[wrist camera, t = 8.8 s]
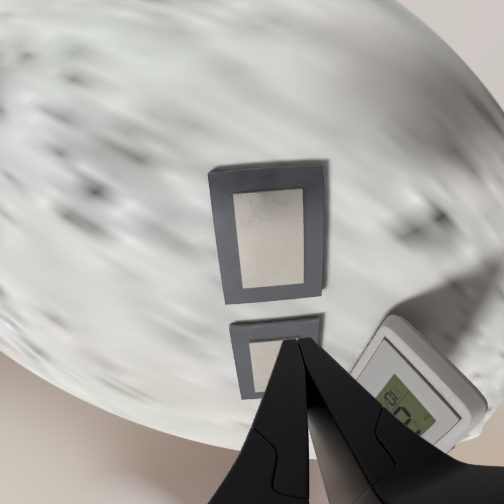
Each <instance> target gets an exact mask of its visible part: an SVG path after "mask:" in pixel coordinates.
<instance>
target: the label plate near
mask: <svg viewBox="0 0 504 504" xmlns="http://www.w3.org/2000/svg"><path fill="white" fill-rule="evenodd" d="M208 181H209V189H210V197H211V205H212V213H213V221H214V229H215V236H216V244H217V251H218V258H219V265H220V272H221V279H222V286H223V292H224V299H225V305H227V304H241V303H254V302H266V301H277V300H288V299H298V298H307V297H317V296H321V294H322V273H323V240H324V178H323V165H321V164H313V165H290V166H273V167H258V168H246V169H234V170H224V171H215V172H209V173H208Z"/></svg>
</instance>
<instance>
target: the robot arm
mask: <svg viewBox="0 0 504 504" xmlns="http://www.w3.org/2000/svg"><path fill="white" fill-rule="evenodd" d="M251 427H252V428H250V430H249V433H248V435H247V438H246V440H245V442H244V444H243V447H242V449H241V451H240V453H239V455H238V457H237V459H236V460H235V462H234V464H233V466H232V468H231V469H230V471H229V472H228V474H227V475H226V477H225V479H224V480H223V482H222V483H221V485H220V486H219V488H218V489H217V491H216V492H215V493H214V495H213V496H212V498H211V499H210V501H209V502H208V504H309V501H308V500H309V437H308V428H309V431H310V435H311V439H312V442H313V446H314V450H315V453H316V457H317V461H318V464H319V468H320V471H321V475H322V478H323V482H324V486H325V490H326V493H327V497H328V501H329V504H504V467H501V466H483V465H473V464H467V463H464V462H461V461H458V460H456V459H454V458H452V457H450V456H449V455H447V454H446V453H444V452H443V451H441V450H440V449H438V448H437V447H435V446H434V445H433V444H431V443H430V442H428V441H427V440H425V439H424V438H422V437H421V436H419V435H418V434H417V433H415V432H414V431H413V430H411V429H410V428H409V427H407V426H406V425H405V424H403V423H402V422H401V421H400V420H399V419H398V418H397V417H395V416H394V415H393V414H392V413H391V412H390V411H389V410H388V409H387V408H385V407H383V405H382V404H381V403H380V402H379V401H378V400H377V399H376V398H375V397H374V396H372V395H371V394H370V393H369V392H368V391H367V390H366V389H365V388H364V387H363V386H362V385H361V384H360V383H359V382H358V381H357V380H355V379H354V378H353V377H352V376H351V375H350V374H349V373H348V372H347V371H346V370H345V369H344V368H343V367H342V366H341V365H340V364H339V363H338V362H337V361H335V360H334V359H333V358H332V357H331V356H330V355H329V354H328V353H327V352H326V351H325V350H324V349H323V348H322V347H321V346H320V345H319V344H318V343H317V342H316V341H315V340H314V339H313V338H311V337H304V338H298V339H297V340H296V339H286V340H283V341H282V344H281V347H280V350H279V352H278V355H277V358H276V361H275V364H274V367H273V370H272V372H271V375H270V378H269V381H268V384H267V386H266V389H265V392H264V394H263V397H262V400H261V402H260V405H259V408H258V410H257V413H256V415H255V418H254V421H253V423H252V426H251Z"/></svg>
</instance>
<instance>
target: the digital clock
mask: <svg viewBox="0 0 504 504" xmlns="http://www.w3.org/2000/svg"><path fill="white" fill-rule="evenodd" d="M350 375H351V376H352V377H353V378H354V379H355V380H357V381H358V382H359V383H360V384H361V385H362V386H363V387H364V388H365V389H366V390H367V391H368V392H369V393H370V394H371V395H372V396H374V397H375V398H376V399H377V400H378V401H379V402H380V403H381V404H382V405H383V407H385V408H387V409H388V410H389V411H390V412H391V413H392V414H393V415H394V416H395V417H397V418H398V419H399V420H400V421H401V422H402V423H403V424H405V425H406V426H407V427H409V428H410V429H411V430H413V431H414V432H415V433H417V434H418V435H419V436H421V437H422V438H424V439H425V440H427V441H428V442H430V443H431V444H433V445H434V446H435V447H437V448H438V449H440V450H441V451H443V452H444V453H446V454H447V453H448V452H450V451H451V450H452V449H453V448H454V447H455V445H456V444H457V443H458V442H459V441H460V440H461V439H463V438H464V437H465V436H466V435H467V434H468V433H469V432H470V431H471V430H472V429H473V428H474V427H475V426H476V425H477V424H478V423H479V422H480V421H481V420H482V419H483V417H484V415H485V414H486V412H487V408H488V404H487V401H486V399H485V397H484V396H483V395H482V393H481V392H480V391H479V390H478V389H477V388H476V387H475V386H474V385H473V384H472V383H471V382H470V381H469V380H468V378H467V377H466V376H465V375H464V374H463V373H462V372H461V371H460V370H459V369H458V368H457V367H456V366H455V365H454V364H452V363H451V362H450V361H449V360H448V359H447V358H446V357H445V356H444V355H443V354H442V353H441V352H440V351H439V350H438V349H437V348H436V347H435V346H434V345H433V344H432V343H431V342H430V341H429V340H428V339H427V338H425V337H424V336H423V335H422V334H421V333H420V332H419V331H418V330H417V329H416V328H415V327H414V326H413V325H412V324H410V323H409V322H408V321H407V320H406V319H404V318H403V317H401V316H399V315H389V316H388V317H387V318H386V319H385V320H384V321H383V323H382V324H381V326H380V327H379V329H378V331H377V333H376V334H375V336H374V338H373V339H372V341H371V342H370V344H368V345H367V347H366V348H365V350H364V352H363V353H362V355H361V356H360V358H359V360H358V361H357V363H356V364H355V366H354V367H353V369H352V371H351V372H350Z"/></svg>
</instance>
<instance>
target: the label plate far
mask: <svg viewBox="0 0 504 504" xmlns="http://www.w3.org/2000/svg"><path fill="white" fill-rule="evenodd" d="M319 325H320V320H319V317H318V316H317V317H309V318H300V319H291V320H281V321H270V322H258V323H245V324H231V325H230V326H229V330H230V336H231V342H232V348H233V354H234V360H235V365H236V371H237V377H238V382H239V388H240V393H241V398H242V400H244V399H259V398H262V397H263V394H264V392H265V389H266V386H267V384H268V381H269V378H270V375H271V372H272V370H273V367H274V364H275V361H276V358H277V355H278V352H279V350H280V347H281V344H282V341H283V340H286V339H296V340H297V339H298V338H304V337H311V338H313V339H314V340H315V341H316V342H317V343H318V338H319Z"/></svg>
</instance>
